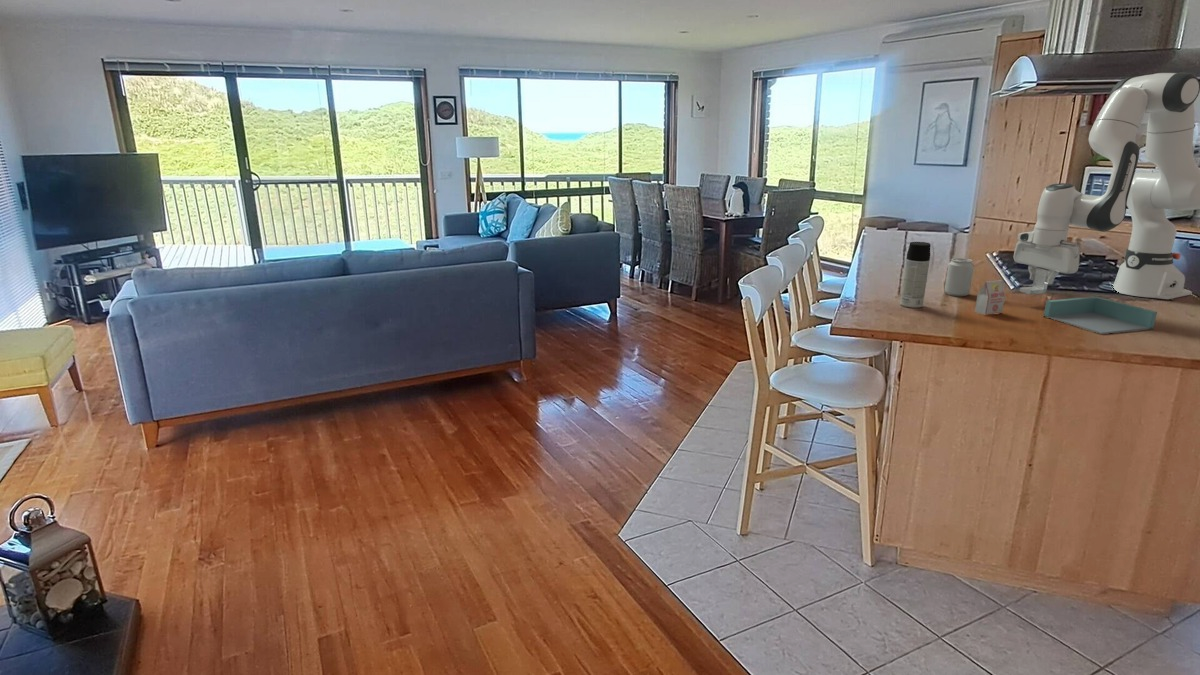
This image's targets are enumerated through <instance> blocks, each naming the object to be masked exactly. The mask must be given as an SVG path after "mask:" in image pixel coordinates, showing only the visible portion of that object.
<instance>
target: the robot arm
mask: <svg viewBox="0 0 1200 675" xmlns="http://www.w3.org/2000/svg"><path fill="white" fill-rule="evenodd" d="M1199 94H1200V80H1199V78H1198V77H1197V76H1196V75H1195V74H1194V73H1191V72H1185V71H1183V72H1182V71H1180V72H1158V73H1153V74H1145V75H1141V76H1129V77H1125V78H1123V79H1122V80H1119V81H1118V82H1117V83H1116V84H1115V85H1114V86H1113V87H1112V89H1111V91H1110V93H1109V96H1108V98H1107V100H1106V101H1105V102H1104V104H1103V106H1102V107H1101V109H1100V111H1099V112H1098V114H1097V116H1096V118H1095V120H1094V122H1093V124H1092V127H1091V129H1090V131H1089V135H1088V143H1089V146H1090V148H1091V149H1092V150H1093V151H1094V152H1095V153H1096V154H1098V155H1100V156H1101V157H1103V158H1105V159H1108V160H1109V161H1110V162H1111V164H1112V170H1111V174H1110V178H1109V181H1108V184H1107V187H1106V191H1105V192H1104V194H1102V195H1093V194H1092V195H1091V194H1087V193H1082V192H1080V191H1079V190H1077V189H1076V187H1075V185H1074V184H1072V183H1067V182H1066V183H1065V182H1063V183H1062V182H1061V183H1053V184H1049V185H1048V186H1046V187H1045V188H1044V189H1043V191H1042V193H1041V196H1040V198H1039V203H1038V206H1037V210H1036V216H1037V219H1036V223H1035V224H1034V228H1033V230H1032V231H1026V232H1020V233H1018V235H1017V240H1018V241H1017V242H1016V244H1015V248H1014V252H1013V260H1014V262H1015V263H1018V264H1023V265H1028V267H1027V270H1028V273H1029V280H1030V281H1034V277H1035V272H1036V269H1038V268H1040V269H1044V270H1048V271H1049V273H1050V275H1049V277H1048V278H1045V282H1044V283H1046V284H1048V285H1053V284H1054V279H1056V277H1058V275H1059V274H1060V273H1061V274H1066V275H1070V274H1075V273H1077V272H1078V270H1079V266H1080V252H1081V247H1080V246H1079V244H1077V242H1075V241H1068V236H1069V230H1070V226H1073V227H1077V228H1078V227H1079V228H1086V229H1090V230H1094V231H1099V232H1103V233H1104V232H1108V231H1111V230H1113V229H1114V228H1116V227H1118V226H1119V225H1120V224H1121V223H1123V221H1124V219H1125V217H1126V213H1127V208H1128V210H1129V214H1130V217H1131V221H1132V226H1131V227H1132V228H1131V233H1130V234H1131V235H1130V238H1129V239H1130V240H1129V244H1128V248H1127V249H1126V251H1125V253H1124V256H1123V257H1124V258H1123V259H1124V262H1123V263H1121V265H1119V268H1118V272H1117V274H1116V277H1115V280H1114V283H1111V284H1112V285H1113V286H1114V287H1113V288H1114V289H1115V290H1116V291H1117V292H1116V293H1118V292H1119V293H1118V294H1122V295H1127V296H1135V297H1140V298H1141V297H1142V298H1152V299H1161V300H1171V299H1172V300H1173V299H1176V298H1181V297H1185V296H1190V295H1191V296H1192V294H1193V293H1192V292H1193V291H1191V290H1189V289H1186V288H1184V287H1185V281H1186V276H1185V275H1184V273H1183V272H1181V270H1180V269H1178V268H1177V267H1176V266H1175V265H1174V260H1177V261H1178V260H1180V258H1181V256H1182V254H1181V253H1179V252H1178V253H1177V252H1173V248H1174V243H1175V239H1176V236H1177V227H1176V226H1175V224H1174V223H1173V222H1171V221H1170V220H1169V219H1168V218H1167V216H1166V213H1165V210H1171V211H1172V210H1173V211H1193V210H1194V211H1195V210H1200V167H1199V166H1198V164H1197V163H1196V159H1195V156H1194V150H1193V149H1194V148H1193V145H1194V129H1195V101H1196V100H1197V98H1198V96H1199ZM1145 114H1149V116H1148V118H1147V119H1148V120H1147V126H1146V137H1145V151H1144V156H1145V157H1146V159H1147V160H1148V161H1149V162H1151V163H1152V164H1153V165H1154V166H1156V168H1157V170H1158V172H1152V171H1147V172H1146V171H1145V172H1138V173H1136V170H1137V166H1138V163H1139V158H1140V147H1139V145H1138V144H1137V143H1136V135H1137V133H1138V131H1139V128H1140V126H1141V124H1142V122H1143V120H1144V116H1145ZM1113 288H1112V289H1113Z"/></svg>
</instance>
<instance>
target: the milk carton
mask: <svg viewBox="0 0 1200 675" xmlns="http://www.w3.org/2000/svg"><path fill="white" fill-rule="evenodd" d="M1005 299H1006V291H1005V287H1004V280H1002V279H1001V280H1000V279H999V280H993V281H984V283H983V286H982V287H981V289H980V290H979V292H977V295H976V302H975V308H974V313H975V312H977V313H980V314H984V315H987V314H994V313H1001V312H1002V313H1003V310H1004V304H1005ZM977 313H976V314H977ZM980 314H979V315H980Z"/></svg>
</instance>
